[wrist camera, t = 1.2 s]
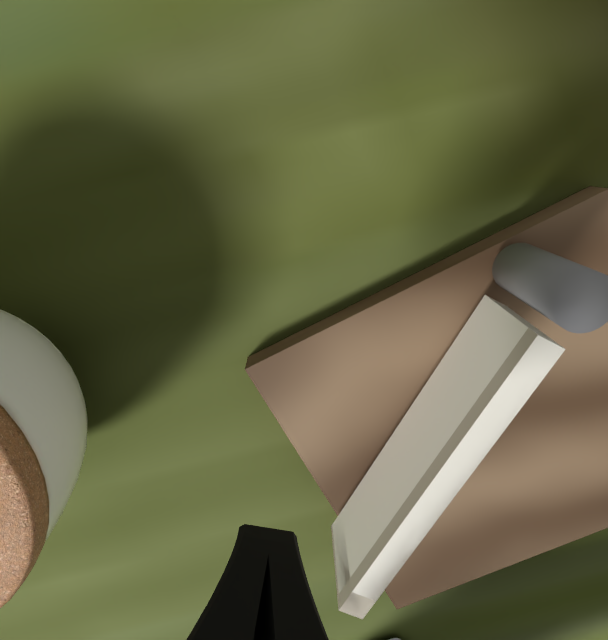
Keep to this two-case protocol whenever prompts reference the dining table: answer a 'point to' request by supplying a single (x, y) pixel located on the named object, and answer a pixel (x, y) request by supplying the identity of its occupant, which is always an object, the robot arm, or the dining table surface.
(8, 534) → the lidded jar
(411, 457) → the white bar
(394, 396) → the board
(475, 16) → the dining table surface
